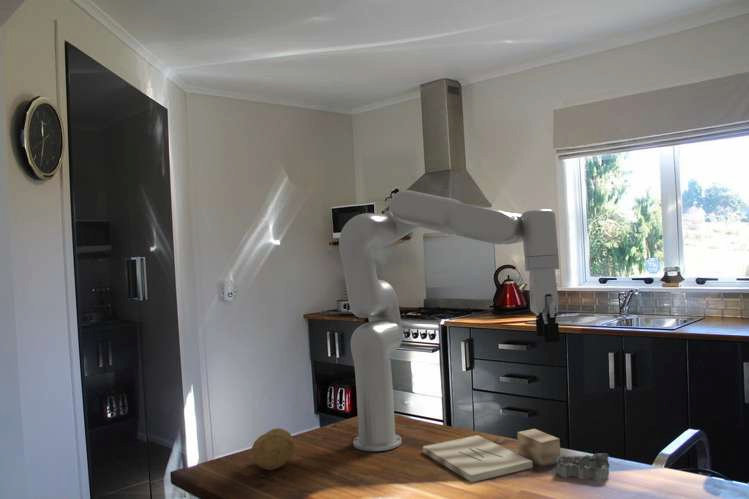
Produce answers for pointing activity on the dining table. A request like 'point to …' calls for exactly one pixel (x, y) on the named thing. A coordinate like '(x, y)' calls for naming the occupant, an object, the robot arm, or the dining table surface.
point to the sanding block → (538, 447)
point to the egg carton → (584, 466)
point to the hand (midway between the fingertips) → (547, 338)
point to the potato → (273, 449)
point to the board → (477, 458)
